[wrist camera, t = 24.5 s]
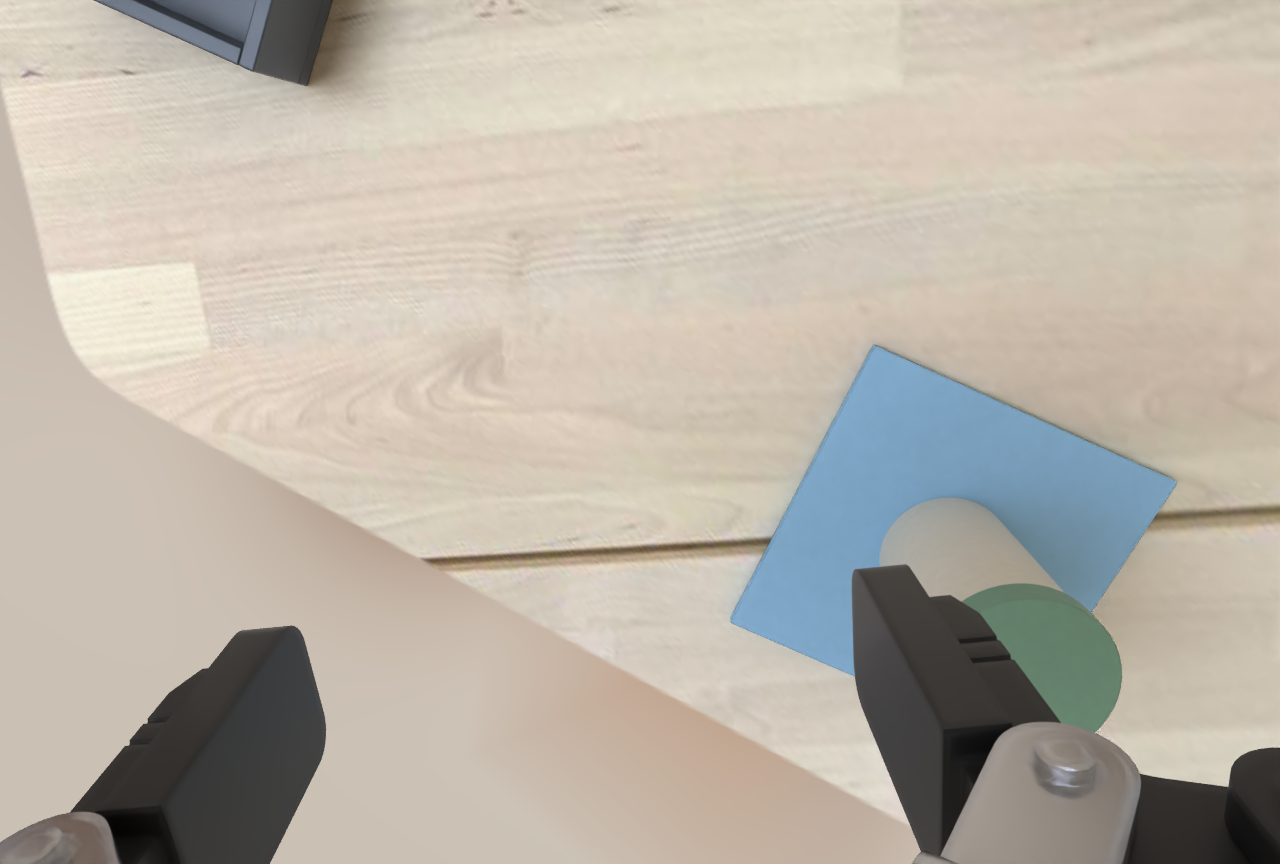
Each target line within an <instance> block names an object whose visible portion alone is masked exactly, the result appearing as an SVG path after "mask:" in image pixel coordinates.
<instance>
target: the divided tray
mask: <svg viewBox="0 0 1280 864" xmlns="http://www.w3.org/2000/svg"><path fill="white" fill-rule="evenodd" d="M94 1H97V2H99V3H101V4H103V5H105V6H108V7H110V8H112V9H114V10H117V11H119V12H121V13H123V14H125V15H128V16H130V17H132V18H134V19H137V20H139V21H141V22H143V23H145V24H148V25H150V26H152V27H154V28H157V29H159V30H161V31H163V32H166V33H168V34H170V35H172V36H174V37H177V38H179V39H181V40H183V41H186V42H188V43H190V44H192V45H194V46H197V47H199V48H201V49H203V50H206V51H208V52H210V53H212V54H214V55H217V56H219V57H221V58H223V59H226V60H228V61H230V62H232V63H234V64H237V65H240V66H241V67H243V68H246V69H248V70H250V71H252V72H256V73H260V74H263V75H267V76H271V77H274V78H278V79H282V80H286V81H289V82H293V83H297V84H300V85H304V86H307V84H308V81H309V78H310V74H311V71H312V67H313V64H314V61H315V57H316V54H317V50H318V47H319V43H320V40H321V37H322V33H323V30H324V26H325V23H326V20H327V16H328V13H329V9H330V6H331V3H332V0H94Z"/></svg>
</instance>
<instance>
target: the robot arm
mask: <svg viewBox="0 0 1280 864" xmlns="http://www.w3.org/2000/svg"><path fill="white" fill-rule="evenodd" d="M852 620H853V659H854V673H855V680H856V686H857V691H858V696H859V699H860V703H861V706H862V709H863V711H864V714H865V716H866V719H867V721H868V723H869V726H870V728H871V731H872V733H873V736H874V738H875V741H876V743H877V745H878V748H879V750H880V753H881V755H882V758H883V760H884V762H885V765H886V767H887V770H888V772H889V775H890V777H891V779H892V782H893V784H894V787H895V789H896V792H897V794H898V797H899V799H900V801H901V804H902V806H903V809H904V811H905V814H906V816H907V818H908V821H909V823H910V826H911V828H912V831H913V833H914V835H915V838H916V840H917V843H918V845H919V848H920V850H921V852H920V853H919V854H918V855H917V857H916V858H915V860H914V861H913V863H912V864H1280V748H1264V749H1258V750H1254V751H1250V752H1248V753H1246V754H1244V755H1242V756H1240V757H1239V758H1238V759H1237V760H1236V761H1235V762H1234V764H1233V766H1232V768H1231V773H1230V780H1229V787H1223V786H1216V785H1208V784H1201V783H1194V782H1186V781H1179V780H1171V779H1164V778H1158V777H1152V776H1147V775H1143V774H1140V773H1139V771H1138V769H1137V767H1136V765H1135V764H1134V762H1133V761H1132V760H1131V758H1130V757H1129V756H1128V755H1127V754H1126V753H1125V752H1124V751H1123V750H1122V749H1121V748H1119V747H1118V746H1117V745H1115V744H1114V743H1112V742H1111V741H1109V740H1107V739H1106V738H1104V737H1102V736H1100V735H1098V734H1096V733H1094V732H1091V731H1089V730H1086V729H1083V728H1080V727H1077V726H1072V725H1068V724H1063V723H1061V722H1060V720H1059V719H1058V718H1057V716H1056V715H1055V714H1054V712H1053V711H1052V710H1051V708H1050V707H1049V706H1048V704H1047V703H1046V702H1045V700H1044V699H1043V698H1042V696H1041V695H1040V694H1039V692H1038V691H1037V689H1036V688H1035V687H1034V685H1033V684H1032V683H1031V681H1030V680H1029V679H1028V677H1027V676H1026V675H1025V673H1024V672H1023V671H1022V669H1021V668H1020V667H1019V665H1018V664H1017V663H1016V661H1015V660H1012V659H1011V654H1010V653H1009V652H1008V650H1007V649H1006V648H1005V646H1004V645H1003V644H1002V642H1001V641H1000V640H997V636H996V634H995V633H994V632H993V630H992V629H991V627H990V626H989V625H988V623H987V622H986V621H985V619H984V618H983V617H982V615H981V614H980V613H979V612H977V611H976V610H974V609H972V608H971V607H969V606H968V605H966V604H964V603H963V602H961V601H959V600H958V599H956V598H955V597H953V596H951V595H944V596H934V597H929V596H928V594H927V592H926V591H925V589H924V588H923V586H922V585H921V583H920V582H919V580H918V579H917V577H916V576H915V574H914V573H913V571H912V570H911V568H910V567H909V566H908V565H906V564H903V565H892V566H882V567H872V568H862V569H855V570H854V571H853V574H852ZM325 738H326V723H325V716H324V712H323V708H322V704H321V701H320V697H319V693H318V690H317V686H316V682H315V678H314V675H313V671H312V667H311V663H310V659H309V656H308V652H307V648H306V645H305V641H304V638H303V636H302V634H301V632H300V630H299V629H298V628H296V627H295V626H283V627H273V628H263V629H253V630H243V631H240V632H238V633H237V634H236V635H235V636H234V637H233V638H232V639H231V641H230V642H229V643H228V644H227V646H226V647H225V648H224V649H223V651H222V652H221V653H220V654H219V656H218V657H217V658H216V659H215V661H214V662H213V663H212V664H211V666H210V667H209V668H207V669H202V670H200V671H199V672H197V673H196V674H195V675H193V676H192V677H191V678H189V679H188V680H186V681H185V682H184V683H182V684H181V685H180V686H178V687H177V688H175V689H174V690H173V691H171V692H170V693H169V694H168V695H167V696H166V697H165V699H164V700H163V701H162V702H161V704H160V705H159V706H158V707H157V708H156V710H155V711H154V712H153V713H152V714H151V715H150V717H149V718H148V723H147V724H143V725H142V726H141V727H140V729H139V730H138V731H137V732H136V734H135V735H134V736H133V737H132V738H131V740H130V745H129V746H125V747H124V748H123V749H122V750H121V752H120V753H119V754H118V755H117V756H116V758H115V759H114V760H113V761H112V762H111V764H110V765H109V766H108V767H107V768H106V770H105V771H104V772H103V773H102V774H101V776H100V777H99V778H98V779H97V781H96V782H95V783H94V784H93V785H92V786H91V788H90V789H89V790H88V791H87V793H86V794H85V795H84V796H83V797H82V799H81V800H80V801H79V802H78V803H77V804H76V806H75V807H74V808H73V809H72V811H71V812H70V813H66V814H61V815H57V816H54V817H51V818H47V819H44V820H42V821H39V822H37V823H35V824H32V825H30V826H28V827H26V828H24V829H22V830H20V831H18V832H16V833H15V834H13V835H11V836H9V837H8V838H6V839H5V840H3V841H2V842H0V864H270V862H271V860H272V858H273V856H274V854H275V852H276V850H277V848H278V846H279V844H280V842H281V840H282V838H283V836H284V834H285V832H286V830H287V828H288V826H289V824H290V822H291V820H292V817H293V816H294V814H295V812H296V810H297V808H298V806H299V804H300V802H301V800H302V798H303V796H304V794H305V792H306V789H307V788H308V786H309V784H310V782H311V779H312V778H313V776H314V773H315V772H316V769H317V767H318V765H319V763H320V761H321V759H322V755H323V752H324V747H325Z"/></svg>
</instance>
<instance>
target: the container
mask: <svg viewBox="0 0 1280 864" xmlns="http://www.w3.org/2000/svg"><path fill="white" fill-rule="evenodd" d="M879 564H880V567H882V566H892V565H903V564H906V565H908V566H909V567H910V568H911V570H912V571H913V573H914V574H915V576H916V577H917V579H918V580H919V582H920V583H921V585H922V586H923V588H924V589H925V591H926V592H927V594H928V596H929V597H934V596H944V595H951V596H953V597H955V598H956V599H958V600H959V601H961V602H963V603H964V604H966V605H968V606H969V607H971V608H972V609H974V610H976V611H977V612H979V613H980V614H981V615H982V617H983V618H984V619H985V621H986V622H987V623H988V625H989V626H990V627H991V629H992V630H993V632H994V633H995V634H996V636H997V640H1000V641H1001V642H1002V644H1003V645H1004V646H1005V648H1006V649H1007V650H1008V652H1009V653H1010V654H1011V659H1012V660H1015V661H1016V663H1017V664H1018V665H1019V667H1020V668H1021V669H1022V671H1023V672H1024V673H1025V675H1026V676H1027V677H1028V679H1029V680H1030V681H1031V683H1032V684H1033V685H1034V687H1035V688H1036V689H1037V691H1038V692H1039V694H1040V695H1041V696H1042V698H1043V699H1044V700H1045V702H1046V703H1047V704H1048V706H1049V707H1050V708H1051V710H1052V711H1053V712H1054V714H1055V715H1056V716H1057V718H1058V719H1059V720H1060V722H1061V723H1063V724H1068V725H1072V726H1077V727H1080V728H1083V729H1086V730H1089V731H1091V732H1094V733H1095V732H1096V731H1097V730H1098V729H1099V728H1100V727H1101V726H1102V725H1103V723H1104V722H1105V721H1106V720H1107V718H1108V717H1109V715H1110V713H1111V712H1112V710H1113V709H1114V706H1115V704H1116V702H1117V699H1118V696H1119V692H1120V689H1121V681H1122V666H1121V661H1120V656H1119V652H1118V650H1117V647H1116V644H1115V643H1114V641H1113V639H1112V637H1111V636H1110V634H1109V633H1108V632H1107V630H1106V629H1105V628H1104V626H1103V625H1102V624H1101V623H1100V622H1099V621H1098V620H1097V619H1096V618H1095V617H1094V615H1093V614H1092V613H1091V612H1090V611H1089V610H1088V609H1087V608H1086V607H1085V606H1084V605H1083V604H1081V603H1080V602H1079V601H1077V600H1076V599H1074V598H1073V597H1071V596H1069V595H1068V594H1066V593H1064V591H1063V590H1062V589H1061V588H1060V587H1059V586H1058V585H1057V584H1056V583H1055V581H1054V580H1053V579H1052V578H1051V577H1050V576H1049V575H1048V574H1047V572H1046V571H1045V570H1044V569H1043V568H1042V567H1041V566H1040V565H1039V564H1038V562H1037V561H1036V560H1035V559H1034V558H1033V557H1032V556H1031V555H1030V554H1029V552H1028V551H1027V550H1026V549H1025V548H1024V547H1023V546H1022V545H1021V543H1020V542H1019V541H1018V540H1017V539H1016V538H1015V537H1014V536H1013V535H1012V533H1011V532H1010V531H1009V530H1008V529H1007V528H1006V527H1005V526H1004V524H1003V523H1002V522H1001V521H1000V520H999V519H998V518H997V517H996V516H995V515H994V514H993V513H992V512H991V511H989V510H988V509H987V508H985V507H983V506H982V505H980V504H978V503H975V502H973V501H970V500H966V499H962V498H953V497H948V498H937V499H932V500H928V501H925V502H922V503H920V504H917V505H915V506H914V507H912V508H910V509H909V510H907V511H906V512H904V513H903V514H902V515H901V516H900V517H898V518H897V519H896V521H895V522H894V523H893V524H892V525H891V527H890V528H889V530H888V531H887V533H886V535H885V537H884V539H883V542H882V545H881V549H880V555H879Z"/></svg>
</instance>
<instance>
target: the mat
mask: <svg viewBox="0 0 1280 864" xmlns="http://www.w3.org/2000/svg"><path fill="white" fill-rule="evenodd" d="M1176 484H1177V482H1176V481H1175V480H1173V479H1172V478H1169V477H1167V476H1165V475H1163V474H1160V473H1158V472H1156V471H1154V470H1152V469H1149V468H1147V467H1145V466H1143V465H1140V464H1138V463H1136V462H1134V461H1132V460H1129V459H1127V458H1125V457H1123V456H1120V455H1118V454H1116V453H1114V452H1112V451H1109V450H1107V449H1105V448H1103V447H1100V446H1098V445H1096V444H1094V443H1092V442H1089V441H1087V440H1085V439H1083V438H1080V437H1078V436H1076V435H1074V434H1072V433H1069V432H1067V431H1065V430H1063V429H1060V428H1058V427H1056V426H1054V425H1052V424H1049V423H1047V422H1045V421H1043V420H1040V419H1038V418H1036V417H1034V416H1032V415H1029V414H1027V413H1025V412H1023V411H1020V410H1018V409H1016V408H1014V407H1012V406H1009V405H1007V404H1005V403H1003V402H1000V401H998V400H996V399H994V398H992V397H989V396H987V395H985V394H983V393H980V392H978V391H976V390H974V389H972V388H969V387H967V386H965V385H963V384H960V383H958V382H956V381H954V380H952V379H949V378H947V377H945V376H943V375H940V374H938V373H936V372H934V371H932V370H929V369H927V368H925V367H923V366H920V365H918V364H916V363H914V362H912V361H909V360H907V359H905V358H903V357H900V356H898V355H896V354H894V353H892V352H889V351H887V350H885V349H883V348H880V347H878V346H876V345H873V346H872V348H871V350H870V352H869V354H868V356H867V358H866V359H865V361H864V363H863V365H862V367H861V369H860V371H859V373H858V375H857V377H856V379H855V381H854V382H853V384H852V386H851V388H850V390H849V392H848V394H847V396H846V398H845V400H844V402H843V403H842V405H841V407H840V409H839V411H838V413H837V415H836V417H835V419H834V421H833V423H832V424H831V426H830V428H829V430H828V432H827V434H826V436H825V438H824V440H823V442H822V444H821V446H820V447H819V449H818V451H817V453H816V455H815V457H814V459H813V461H812V463H811V465H810V467H809V468H808V470H807V472H806V474H805V476H804V478H803V480H802V482H801V484H800V486H799V488H798V489H797V491H796V493H795V495H794V497H793V499H792V501H791V503H790V505H789V507H788V509H787V511H786V512H785V514H784V516H783V518H782V520H781V522H780V524H779V526H778V528H777V530H776V532H775V533H774V535H773V537H772V539H771V541H770V543H769V545H768V547H767V549H766V551H765V553H764V554H763V556H762V558H761V560H760V562H759V564H758V566H757V568H756V570H755V572H754V574H753V576H752V577H751V579H750V581H749V583H748V585H747V587H746V589H745V591H744V593H743V595H742V597H741V598H740V600H739V602H738V604H737V606H736V608H735V610H734V612H733V614H732V616H731V623H732V624H735V625H737V626H739V627H742V628H744V629H746V630H749V631H751V632H753V633H755V634H758V635H760V636H762V637H765V638H767V639H769V640H772V641H774V642H776V643H779V644H781V645H783V646H785V647H788V648H790V649H792V650H795V651H797V652H799V653H802V654H804V655H806V656H809V657H811V658H813V659H816V660H818V661H820V662H822V663H825V664H827V665H829V666H832V667H834V668H836V669H839V670H841V671H843V672H846V673H848V674H850V675H852V676H855V673H854V659H853V620H852V574H853V571H854V570H855V569H862V568H872V567H880V564H879V555H880V549H881V545H882V542H883V539H884V537H885V535H886V533H887V531H888V530H889V528H890V527H891V525H892V524H893V523H894V522H895V521H896V519H897V518H898V517H900V516H901V515H902V514H903V513H904V512H906V511H907V510H909V509H910V508H912V507H914V506H915V505H917V504H920V503H922V502H925V501H928V500H932V499H937V498H948V497H953V498H962V499H966V500H970V501H973V502H975V503H978V504H980V505H982V506H983V507H985V508H987V509H988V510H989V511H991V512H992V513H993V514H994V515H995V516H996V517H997V518H998V519H999V520H1000V521H1001V522H1002V523H1003V524H1004V526H1005V527H1006V528H1007V529H1008V530H1009V531H1010V532H1011V533H1012V535H1013V536H1014V537H1015V538H1016V539H1017V540H1018V541H1019V542H1020V543H1021V545H1022V546H1023V547H1024V548H1025V549H1026V550H1027V551H1028V552H1029V554H1030V555H1031V556H1032V557H1033V558H1034V559H1035V560H1036V561H1037V562H1038V564H1039V565H1040V566H1041V567H1042V568H1043V569H1044V570H1045V571H1046V572H1047V574H1048V575H1049V576H1050V577H1051V578H1052V579H1053V580H1054V581H1055V583H1056V584H1057V585H1058V586H1059V587H1060V588H1061V589H1062V590H1063V591H1064V593H1066V594H1068V595H1069V596H1071V597H1073V598H1074V599H1076V600H1077V601H1079V602H1080V603H1081V604H1083V605H1084V606H1085V607H1086V608H1087V609H1088V610H1089V611H1090V612H1092V611H1093V609H1094V608H1095V606H1096V605H1097V603H1098V602H1099V600H1100V599H1101V597H1102V596H1103V594H1104V593H1105V591H1106V590H1107V588H1108V587H1109V585H1110V584H1111V582H1112V581H1113V579H1114V578H1115V576H1116V575H1117V573H1118V572H1119V570H1120V569H1121V567H1122V566H1123V564H1124V562H1125V561H1126V559H1127V558H1128V556H1129V555H1130V553H1131V552H1132V550H1133V549H1134V547H1135V546H1136V544H1137V543H1138V541H1139V540H1140V538H1141V537H1142V535H1143V534H1144V532H1145V531H1146V529H1147V528H1148V526H1149V525H1150V523H1151V522H1152V520H1153V519H1154V517H1155V516H1156V514H1157V513H1158V511H1159V510H1160V508H1161V507H1162V505H1163V504H1164V502H1165V501H1166V499H1167V498H1168V496H1169V495H1170V493H1171V492H1172V490H1173V489H1174V487H1175V486H1176Z"/></svg>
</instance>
